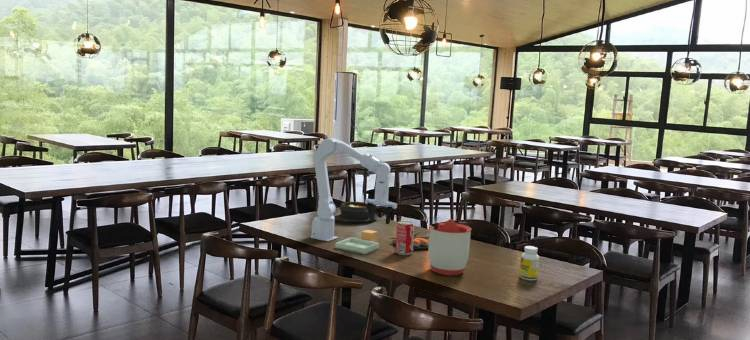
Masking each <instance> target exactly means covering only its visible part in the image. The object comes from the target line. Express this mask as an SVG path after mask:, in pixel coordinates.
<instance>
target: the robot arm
mask: <svg viewBox="0 0 750 340" xmlns="http://www.w3.org/2000/svg"><path fill="white" fill-rule="evenodd" d="M333 153H344V154H345V155H347V156H349V157H351V158H353V159H355V160H357V161H359V164H360V166H362V167H363V168H365V169H367V170H369V171H370V172H372V173H375V176H376V179H375V189H374V198H373V199H372V198H365V202H364V203H365V204H367V205H366V208H367V210H368V212H369V216H370V221H369V222H375V219H376V218H375V215H376V209H377V206H380V207H384V210H385V225H390V223H391V220H392V217H393V215H394V213H395V211H396V209H397V208H398V203H396V202H392V201H389V191H390V190H389V189H390V187H389V186H390V175H389V174H390V173H391V170H392V169H391V166H390V165H389V164H388V163H387V162H384V161H383V160H382V159H380V160H379V159H378V158H376V157H374V154H372V153H370V154H369V153H365V154H364V153H362V152H360V151H358V150H357V149H356V148H353V146H351V145H350V144H348V143H346V142H344V141H343V140H341V139H337V138H336V137H334V136H332V137H327V138H325V139H323V140H322V141H321V142H320V143H319V144H318V147H317V149H316V152H315V154H314V156H313V161H314V171H315V176H316V183H317V193H318V201H317V202H318V204H317V205H318V208H317V211H316V213H317V216H315V217H314V218H313V219H312V221H311V236H310V239H315V240H319V241H325V242H330V241H333V240H336V239H338V238H339V237H338V236H335V221H336V220H335V217H334V216H335V213H336V210H337V206H336V204H335V203H334V201H333V197H332V196H331V189H330V188H331V186H330V181H329V175H328V174H329V172H328V166H327V159H328V158H329V157H330V156H331V155H332V154H333ZM374 218H375V219H374Z"/></svg>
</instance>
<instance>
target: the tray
mask: <svg viewBox="0 0 750 340" xmlns="http://www.w3.org/2000/svg"><path fill="white" fill-rule="evenodd" d="M334 246H335V247H334V248H335V249H337V250H338V249H339V250H344V251H348V252H353V253H356V254H361V255H366V254H368V253H371V252H373V251H376V250H378V249H380V242H378V241H377V242H372V241H367V240H362V239H361V238H356V237H348V238H345V239H342V240H339V241H337V242H335V245H334Z"/></svg>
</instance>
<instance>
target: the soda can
mask: <svg viewBox="0 0 750 340" xmlns="http://www.w3.org/2000/svg"><path fill="white" fill-rule="evenodd" d="M395 231H396V235H395V238H396V239H395V240H396V245H395V253H396V254H398V255H399V256H410V255H412V254H413V252H414V249H413V241H414V239H415V238H414V237H415V236H414V235H415V226H414V222H412V221H410V220H399V221H397V224H396V230H395Z"/></svg>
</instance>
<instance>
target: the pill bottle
mask: <svg viewBox="0 0 750 340" xmlns="http://www.w3.org/2000/svg"><path fill="white" fill-rule="evenodd" d="M538 249H539V248H538V247H537V246H536V247H535V246H534V245H533V246H532V245H526V246H524V249H523V250H524V252H523V253H522V254H521V255H520V264H519V265H520V268H519V277H520V278H521V279H523V280H525V281H536V280H537V279H538V275H539V267H540V266H539V265H540V256H539V255H538V251H539V250H538Z"/></svg>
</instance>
